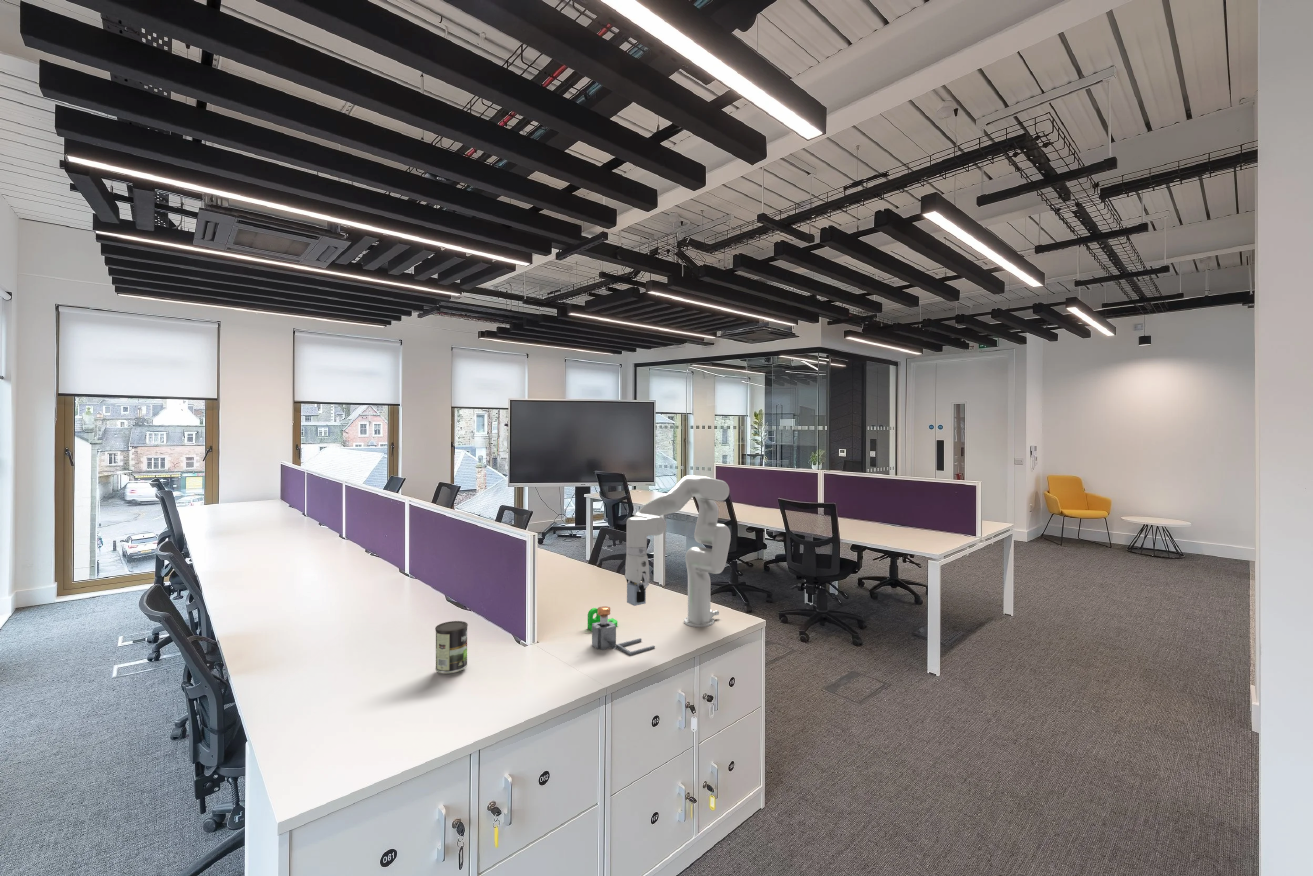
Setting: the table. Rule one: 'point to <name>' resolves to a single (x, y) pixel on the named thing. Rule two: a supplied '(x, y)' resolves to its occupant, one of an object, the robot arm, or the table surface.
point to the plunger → (604, 615)
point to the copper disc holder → (603, 636)
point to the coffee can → (451, 646)
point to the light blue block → (633, 594)
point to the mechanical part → (597, 618)
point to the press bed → (621, 645)
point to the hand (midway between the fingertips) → (636, 599)
